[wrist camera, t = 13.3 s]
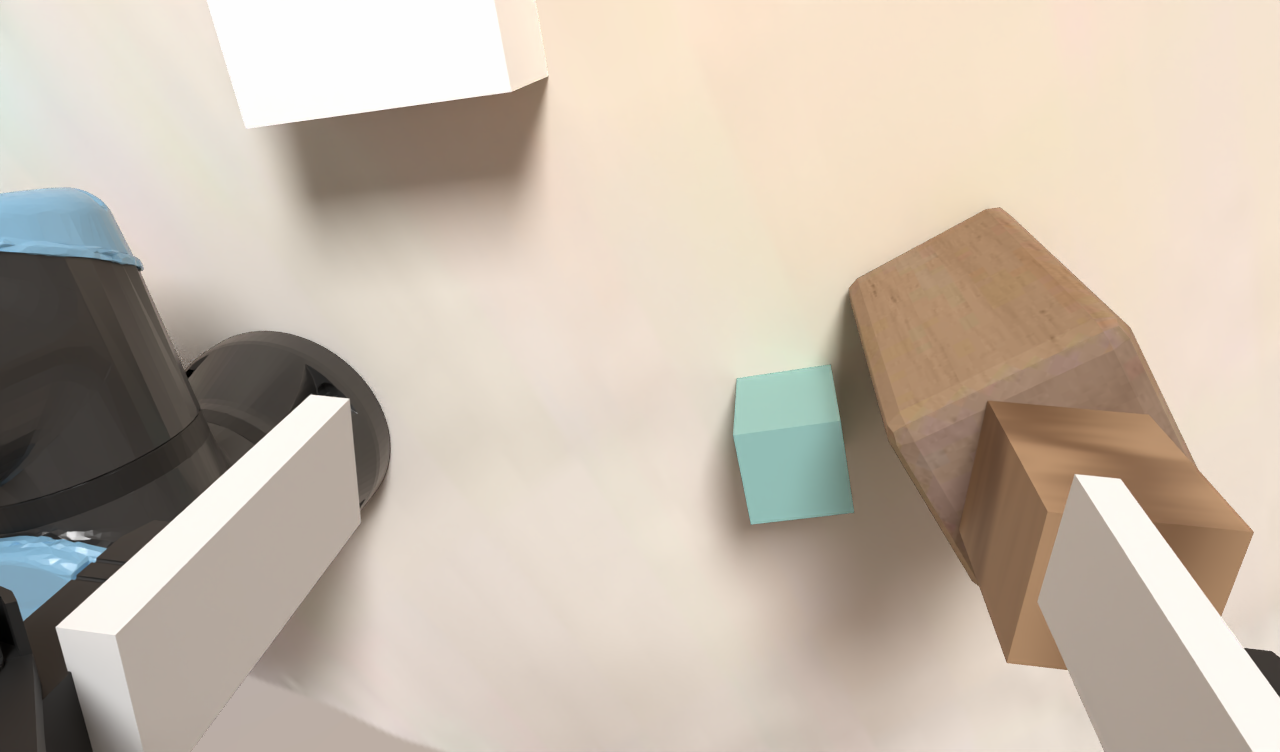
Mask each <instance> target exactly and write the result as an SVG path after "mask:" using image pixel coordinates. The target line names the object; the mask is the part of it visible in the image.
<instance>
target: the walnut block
mask: <svg viewBox="0 0 1280 752" xmlns="http://www.w3.org/2000/svg"><path fill="white" fill-rule="evenodd" d="M1075 474H1079V475H1088V476H1098V477H1108V478H1117V479H1121V480H1122V482H1123V483H1124V484H1125V486H1126V487H1127V488H1128V490H1129V491H1130V493H1131V494H1132V495H1133V497H1134V498H1135V499H1136V501H1137V502H1138V504H1139V505H1140V506H1141V508H1142V509H1143V510H1144V512H1145V513H1146V515H1147V516H1148V517H1149V519H1150V520H1151V521H1152V523H1153V524H1154V526H1155V527H1156V528H1157V530H1158V531H1159V532H1160V534H1161V535H1162V537H1163V538H1164V539H1165V541H1166V542H1167V543H1168V545H1169V546H1170V548H1171V549H1172V550H1173V552H1174V553H1175V554H1176V556H1177V557H1178V558H1179V560H1180V561H1181V563H1182V564H1183V565H1184V567H1185V568H1186V569H1187V571H1188V572H1189V574H1190V575H1191V576H1192V578H1193V579H1194V580H1195V582H1196V583H1197V585H1198V586H1199V587H1200V589H1201V590H1202V591H1203V593H1204V594H1205V596H1206V597H1207V598H1208V600H1209V601H1210V602H1211V604H1212V605H1213V607H1214V608H1215V609H1216V611H1217V612H1218V613H1219V615H1220V616H1221V615H1222V613H1223V610H1224V608H1225V605H1226V603H1227V600H1228V597H1229V595H1230V592H1231V590H1232V587H1233V585H1234V582H1235V579H1236V577H1237V574H1238V572H1239V569H1240V567H1241V564H1242V561H1243V559H1244V556H1245V554H1246V551H1247V548H1248V546H1249V543H1250V541H1251V538H1252V536H1253V533H1254V532H1253V531H1252V529H1251V528H1250V527H1249V526H1248V525H1247V524H1246V523H1245V522H1244V520H1243V519H1242V518H1241V517H1240V516H1239V515H1238V514H1237V513H1236V512H1235V510H1234V509H1233V508H1232V507H1231V506H1230V505H1229V504H1228V503H1227V501H1226V500H1225V499H1224V498H1223V497H1222V496H1221V495H1220V494H1219V493H1218V491H1217V490H1216V489H1215V488H1214V487H1213V486H1212V485H1211V484H1210V482H1209V481H1208V480H1207V479H1206V478H1205V477H1204V476H1203V475H1202V474H1201V472H1200V471H1199V470H1198V469H1197V468H1196V467H1195V466H1194V465H1193V463H1192V462H1191V461H1190V460H1189V459H1188V458H1187V457H1186V456H1185V454H1184V453H1183V452H1182V451H1181V450H1180V449H1179V448H1178V447H1177V446H1176V444H1175V443H1174V442H1173V441H1172V440H1171V439H1170V438H1169V437H1168V435H1167V434H1166V433H1165V432H1164V431H1163V430H1162V429H1161V428H1160V427H1159V425H1158V424H1157V423H1156V422H1155V421H1154V420H1153V419H1152V418H1151V416H1150V415H1148V414H1136V413H1124V412H1113V411H1102V410H1090V409H1079V408H1068V407H1056V406H1045V405H1033V404H1022V403H1011V402H1000V401H988V402H987V406H986V411H985V415H984V420H983V424H982V429H981V433H980V438H979V442H978V446H977V451H976V455H975V460H974V464H973V469H972V473H971V478H970V482H969V487H968V491H967V496H966V500H965V505H964V509H963V514H962V518H961V522H960V527H959V531H960V534H961V537H962V539H963V542H964V545H965V548H966V551H967V553H968V556H969V559H970V562H971V565H972V567H973V570H974V573H975V576H976V578H977V581H978V584H979V587H980V590H981V592H982V595H983V598H984V601H985V603H986V606H987V609H988V612H989V615H990V617H991V620H992V623H993V626H994V629H995V631H996V634H997V637H998V640H999V642H1000V645H1001V648H1002V651H1003V654H1004V656H1005V659H1006V662H1007V663H1012V664H1021V665H1030V666H1038V667H1047V668H1056V669H1064V670H1068V669H1067V667H1066V665H1065V663H1064V660H1063V658H1062V656H1061V654H1060V651H1059V649H1058V647H1057V645H1056V642H1055V640H1054V638H1053V636H1052V634H1051V631H1050V629H1049V627H1048V625H1047V622H1046V620H1045V618H1044V616H1043V613H1042V611H1041V609H1040V607H1039V605H1038V602H1037V601H1038V598H1039V594H1040V591H1041V587H1042V584H1043V580H1044V577H1045V574H1046V570H1047V567H1048V563H1049V560H1050V557H1051V553H1052V550H1053V546H1054V543H1055V540H1056V536H1057V533H1058V529H1059V526H1060V522H1061V519H1062V516H1063V512H1064V509H1065V505H1066V502H1067V499H1068V495H1069V492H1070V488H1071V485H1072V482H1073V478H1074V475H1075Z"/></svg>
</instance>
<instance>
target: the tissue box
mask: <svg viewBox="0 0 1280 752" xmlns="http://www.w3.org/2000/svg"><path fill="white" fill-rule="evenodd" d="M207 3H208V7H209V10H210V13H211V17H212V20H213V23H214V26H215V30H216V33H217V36H218V39H219V43H220V46H221V49H222V53H223V56H224V59H225V62H226V66H227V69H228V72H229V76H230V79H231V82H232V85H233V89H234V92H235V95H236V98H237V102H238V105H239V108H240V112H241V115H242V118H243V121H244V125H245V128H246V129H248V128H256V127H263V126H270V125H277V124H284V123H291V122H299V121H306V120H313V119H320V118H327V117H335V116H342V115H349V114H356V113H363V112H370V111H378V110H385V109H392V108H399V107H406V106H414V105H421V104H428V103H435V102H442V101H449V100H457V99H464V98H471V97H478V96H485V95H492V94H500V93H507V92H512V91H515V90H517V89H519V88H522V87H524V86H526V85H529V84H531V83H533V82H536V81H538V80H541V79H543V78H545V77H548V76H549V75H548V69H547V63H546V57H545V52H544V46H543V40H542V34H541V28H540V23H539V17H538V11H537V5H536V0H207Z"/></svg>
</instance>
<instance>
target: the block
mask: <svg viewBox="0 0 1280 752" xmlns="http://www.w3.org/2000/svg"><path fill="white" fill-rule="evenodd" d="M849 296H850V303H851V306H852V310H853V313H854V317H855V321H856V324H857V328H858V332H859V335H860V339H861V343H862V346H863V350H864V354H865V357H866V361H867V365H868V368H869V372H870V376H871V379H872V383H873V386H874V390H875V394H876V397H877V401H878V405H879V408H880V412H881V416H882V419H883V423H884V427H885V430H886V434H887V438H888V441H889V443H890V444H891V446H892V448H893V449H894V451H895V453H896V454H897V456H898V458H899V459H900V461H901V463H902V464H903V466H904V468H905V470H906V471H907V473H908V475H909V476H910V478H911V480H912V481H913V483H914V485H915V486H916V488H917V490H918V491H919V493H920V495H921V496H922V498H923V500H924V501H925V503H926V505H927V506H928V508H929V510H930V511H931V513H932V515H933V516H934V518H935V520H936V521H937V523H938V525H939V526H940V528H941V530H942V531H943V533H944V535H945V537H946V538H947V540H948V542H949V543H950V545H951V547H952V548H953V550H954V552H955V553H956V555H957V557H958V558H959V560H960V562H961V563H962V565H963V567H964V568H965V570H966V572H967V573H968V575H969V577H970V578H971V580H972V581H973V582H974V583H975V584H977V585H978V586H979V584H978V581H977V578H976V576H975V573H974V570H973V567H972V565H971V562H970V559H969V556H968V553H967V551H966V548H965V545H964V542H963V539H962V537H961V534H960V531H959V527H960V522H961V518H962V514H963V509H964V505H965V500H966V496H967V491H968V487H969V482H970V478H971V473H972V469H973V464H974V460H975V455H976V451H977V446H978V442H979V438H980V433H981V429H982V424H983V420H984V415H985V411H986V406H987V402H988V401H1000V402H1011V403H1022V404H1033V405H1045V406H1056V407H1068V408H1079V409H1090V410H1102V411H1113V412H1124V413H1136V414H1148V415H1150V416H1151V418H1152V419H1153V420H1154V421H1155V422H1156V423H1157V424H1158V425H1159V427H1160V428H1161V429H1162V430H1163V431H1164V432H1165V433H1166V434H1167V435H1168V437H1169V438H1170V439H1171V440H1172V441H1173V442H1174V443H1175V444H1176V446H1177V447H1178V448H1179V449H1180V450H1181V451H1182V452H1183V453H1184V454H1185V456H1186V457H1187V458H1188V459H1189V460H1190V461H1191V462H1192V463H1193V465H1194V466H1195V467H1196V468H1197V466H1196V464H1195V462H1194V460H1193V458H1192V456H1191V454H1190V452H1189V450H1188V448H1187V445H1186V443H1185V441H1184V439H1183V437H1182V435H1181V433H1180V431H1179V429H1178V427H1177V424H1176V422H1175V420H1174V418H1173V416H1172V414H1171V412H1170V410H1169V408H1168V406H1167V403H1166V401H1165V399H1164V397H1163V395H1162V393H1161V391H1160V389H1159V387H1158V385H1157V383H1156V380H1155V378H1154V376H1153V374H1152V372H1151V370H1150V368H1149V366H1148V364H1147V362H1146V359H1145V357H1144V355H1143V353H1142V351H1141V349H1140V347H1139V345H1138V343H1137V341H1136V338H1135V336H1134V334H1133V332H1132V330H1131V328H1130V327H1129V326H1128V325H1127V324H1126V323H1125V322H1124V321H1123V320H1122V319H1121V318H1119V317H1118V316H1117V315H1116V314H1115V313H1114V312H1113V311H1112V310H1111V309H1110V308H1109V307H1108V306H1107V305H1106V304H1105V303H1103V302H1102V301H1101V300H1100V299H1099V298H1098V297H1097V296H1096V295H1095V294H1094V293H1093V292H1092V291H1091V290H1090V289H1089V288H1087V287H1086V286H1085V285H1084V284H1083V283H1082V282H1081V281H1080V280H1079V279H1078V278H1077V277H1076V276H1075V275H1074V274H1073V273H1071V272H1070V271H1069V270H1068V269H1067V268H1066V267H1065V266H1064V265H1063V264H1062V263H1061V262H1060V261H1059V260H1058V259H1057V258H1055V257H1054V256H1053V255H1052V254H1051V253H1050V252H1049V251H1048V250H1047V249H1046V248H1045V247H1044V246H1043V245H1042V244H1041V243H1039V242H1038V241H1037V240H1036V239H1035V238H1034V237H1033V236H1032V235H1031V234H1030V233H1029V232H1028V231H1027V230H1026V229H1025V228H1023V227H1022V226H1021V225H1020V224H1019V223H1018V222H1017V221H1016V220H1015V219H1014V218H1013V217H1012V216H1011V215H1009V214H1008V213H1007V212H1005V211H1004V210H1003V209H1002V208H1000V207H999V208H992V209H986V210H984V211H982V212H980V213H978V214H976V215H975V216H973V217H971V218H969V219H967V220H965V221H963V222H962V223H960V224H958V225H956V226H954V227H952V228H950V229H949V230H947V231H945V232H943V233H941V234H939V235H937V236H936V237H934V238H932V239H930V240H928V241H926V242H924V243H923V244H921V245H919V246H917V247H915V248H913V249H911V250H910V251H908V252H906V253H904V254H902V255H900V256H898V257H897V258H895V259H893V260H891V261H889V262H887V263H885V264H884V265H882V266H880V267H878V268H876V269H874V270H872V271H871V272H869V273H867V274H865V275H863V276H861V277H859V278H857V279H856V281H855V282H854V283H853V284H852V285H851V286H850V288H849ZM1197 469H1198V468H1197Z"/></svg>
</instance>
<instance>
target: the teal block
mask: <svg viewBox="0 0 1280 752" xmlns="http://www.w3.org/2000/svg"><path fill="white" fill-rule="evenodd" d="M733 437H734V442H735V447H736V452H737V457H738V462H739V467H740V472H741V477H742V482H743V487H744V492H745V497H746V502H747V507H748V512H749V517H750V522H751V524H760V523H769V522H777V521H786V520H795V519H803V518H812V517H821V516H830V515H838V514H847V513H854V508H853V501H852V495H851V488H850V481H849V474H848V467H847V461H846V454H845V447H844V440H843V434H842V427H841V420H840V414H839V409H838V403H837V398H836V392H835V386H834V381H833V375H832V369H831V364H830V365H823V366H817V367H810V368H803V369H797V370H790V371H783V372H776V373H770V374H763V375H756V376H750V377H743V378H737V385H736V400H735V415H734V430H733Z"/></svg>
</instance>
